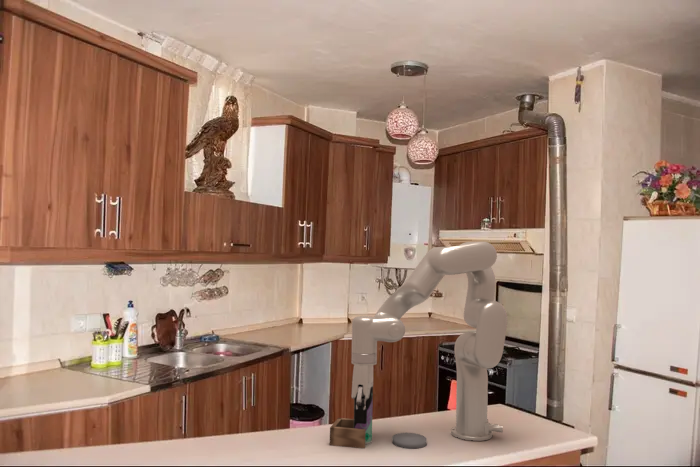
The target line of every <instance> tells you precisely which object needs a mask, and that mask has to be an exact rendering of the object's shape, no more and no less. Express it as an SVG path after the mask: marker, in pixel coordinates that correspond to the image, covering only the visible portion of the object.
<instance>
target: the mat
mask: <svg viewBox="0 0 700 467" xmlns="http://www.w3.org/2000/svg"><path fill="white" fill-rule="evenodd" d="M391 442H392V444H393V445H394V446H396V447H398V448H402V449H409V450H410V449H411V450H412V449H413V450H414V449H415V450H416V449H423V448H424V447H426V446H427V437H426V436H424V435H422V434H420V433H416V432H400V433H395V434H394V435H392V441H391Z"/></svg>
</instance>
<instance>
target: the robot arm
mask: <svg viewBox="0 0 700 467" xmlns="http://www.w3.org/2000/svg"><path fill="white" fill-rule="evenodd" d="M497 258H498V254H497V250H496V248H495V247H494V245H493V244H491V242H488V241H484V240H483V241H466V242H463V243H461V244H459V245H454V246H453V245H452V246H451V245H450V246H437V247H433V248H431V249H429V250H428V251H427V252H426V253H425V255H424V256H423V257H422V258H421V260H420V262H418V263H417V266H416V267H414V270H413V271H412V272H411V274H410V275H409V276H408V278H407V279H406V281H405V282H404V283H403V284H402V285H401V286H400V287H398V288H397V290H395V291H394V292H393V293H392V294H391V295H390V296H389V297H388V298H386V300H385V301H384V302H383V304H382V305H381V306H380V307H379V309H378V310H377V312H376V313H375V315H374V316H368V315H367V316H366V315H364V316H363V315H361V316H359V315H358V316H355V317H353V318H352V322H351V365H353V371H352V381H351V383H352V384H351V399H353V400H354V398H355V397H356V396H357V401H356V423H360V424H366V423H367V410H366V400H367V399H368V398H369V396H370V390H371V383H372V382H373V383H372V384H373V385H374V366H376V365H377V364H378V363H377V362H378V342H385V343H395V342H396V343H397V342H400V341H401V340H402V339H403V338H404V336H405V333H406V326H405V324H404V322H403V321H402V320H401V319H402V318H403V316H404V315H405V314H406V313H407V312H408V311H409V310H411V309H412V308H414V307H416V306H418V305H420V304H423V303H424V302H425V301H427V300H428V299H429V298H430V296H431V295H432V293H433V292H434V291H435V289H436V288H437V287H438V285H439V284H440V283H441V281H442V280H443V279H444V278H445V276H454V275H462V274H466V278H467V291H466V296H465V303H464V310H463V319H464V322H465V323H466V324H467V325H468V326H469V327H471V328H473V329H476V330H475V332H473V331H467V332H464V333H461V334H460V335H459V336H458V337H457V339H456V340H455V343H454V358H455V359H454V360H455V366H456V390H455V392H456V394H455V395H456V397H455V399H456V404H455V407H456V409H455V412H456V413H455V426H453V427H452V428H451V429H450V434H451V435H452V436H454V437H456V438H457V437H458V438H457V439H461V440H464V439H465V441H471V440H473V441H475V442H477V441H479V442H482V441H487V440H490V439H491V438H492V437H493V432H495V433H503V430H504V427H503V425H499V424H497V423H491V422H489V418H488V403H489V402H488V399H489V398H488V392H489V390H488V386H489V377H488V376H489V374H488V369H492V368H494V367H496V366H497V365H498V364H499V363H500V361H501V359H502V357H503V352H504V347H505V341H506V336H507V335H506V334H507V328H508V327H507V326H508V315H507V310H506V308H505V307H504V305H503V304H501V303H500V302H498V301H497V300H495V294H496V276H495V272H494V269H493V266H494V265H495V263H496V261H497ZM356 394H357V395H356ZM362 397H365V399H363V398H362ZM362 401H364V403H363V402H362Z"/></svg>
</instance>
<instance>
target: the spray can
mask: <svg viewBox="0 0 700 467" xmlns="http://www.w3.org/2000/svg"><path fill="white" fill-rule="evenodd" d="M372 383H373V384H372ZM372 383H371V390H370V396H369V398H368V399H367V400H366V410H367V423H366V424H360V423H356V401H357V396H356V397H355V398H354V399H353V419H354V428H356V429H366V430H365V446H369V445H371V444H372V441H373V409H374V408H373V404H374V402H373V397H374V381H373V382H372ZM356 395H357V394H356ZM362 398H363V399H365V397H362ZM362 402H363V403H364V401H362Z"/></svg>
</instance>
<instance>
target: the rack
mask: <svg viewBox="0 0 700 467" xmlns="http://www.w3.org/2000/svg"><path fill="white" fill-rule="evenodd" d="M365 430H366V429H356V428H354V418H344V417H337V419H335V421H334V422H333V423H332V425H331V426H330V427H329V446H334V447H345V448H356V449H357V448H358V449H365V448H366V445H365Z"/></svg>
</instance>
